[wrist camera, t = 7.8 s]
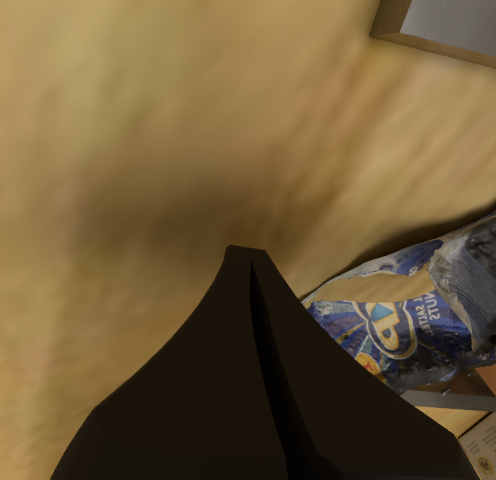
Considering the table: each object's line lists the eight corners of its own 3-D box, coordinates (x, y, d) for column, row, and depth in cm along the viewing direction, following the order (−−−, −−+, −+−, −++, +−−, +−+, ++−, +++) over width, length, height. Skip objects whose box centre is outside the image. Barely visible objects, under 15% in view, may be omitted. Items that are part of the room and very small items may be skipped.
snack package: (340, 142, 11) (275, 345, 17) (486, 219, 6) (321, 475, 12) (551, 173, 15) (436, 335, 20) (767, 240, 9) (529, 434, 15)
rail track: (515, 385, 20) (540, 415, 18) (258, 362, 18) (261, 394, 16) (841, 102, 11) (954, 110, 9) (391, -27, 8) (430, -47, 7)
